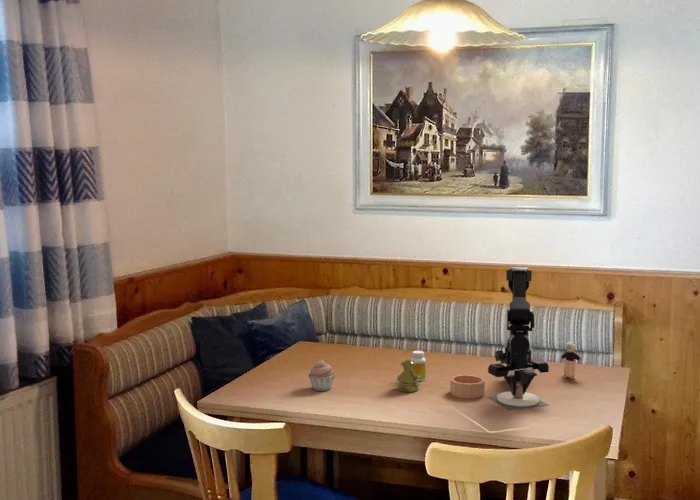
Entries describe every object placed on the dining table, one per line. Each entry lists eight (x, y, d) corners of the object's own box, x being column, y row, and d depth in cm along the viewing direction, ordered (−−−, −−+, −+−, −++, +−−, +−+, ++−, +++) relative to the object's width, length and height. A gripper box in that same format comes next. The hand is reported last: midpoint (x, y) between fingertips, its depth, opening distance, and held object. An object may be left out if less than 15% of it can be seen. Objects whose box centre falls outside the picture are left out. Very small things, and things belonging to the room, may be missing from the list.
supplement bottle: (424, 381, 270) (425, 354, 269) (409, 380, 271) (409, 353, 270) (426, 377, 275) (426, 350, 274) (411, 376, 276) (411, 349, 275)
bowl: (474, 388, 262) (474, 373, 261) (490, 397, 251) (490, 382, 251) (444, 391, 258) (445, 376, 258) (459, 401, 248) (460, 385, 247)
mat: (525, 394, 255) (525, 392, 255) (549, 406, 242) (549, 405, 242) (487, 398, 251) (487, 396, 250) (509, 411, 237) (509, 410, 237)
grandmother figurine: (558, 378, 274) (559, 342, 272) (559, 375, 277) (560, 340, 276) (580, 380, 271) (581, 344, 269) (582, 377, 274) (583, 341, 273)
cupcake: (341, 388, 262) (341, 359, 261) (321, 394, 256) (321, 364, 254) (322, 383, 269) (321, 354, 268) (302, 389, 262) (301, 359, 261)
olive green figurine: (412, 393, 256) (412, 363, 255) (392, 390, 260) (392, 360, 259) (422, 388, 262) (423, 359, 261) (403, 384, 266) (403, 356, 265)
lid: (525, 392, 254) (525, 377, 254) (547, 404, 242) (547, 388, 241) (489, 396, 250) (489, 381, 250) (510, 408, 238) (510, 392, 237)
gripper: (531, 338, 255) (530, 385, 256) (480, 343, 249) (479, 390, 250) (550, 346, 244) (549, 394, 246) (497, 350, 238) (496, 400, 240)
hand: (518, 394), depth 246 cm, fingers closed on lid, 3 cm apart
